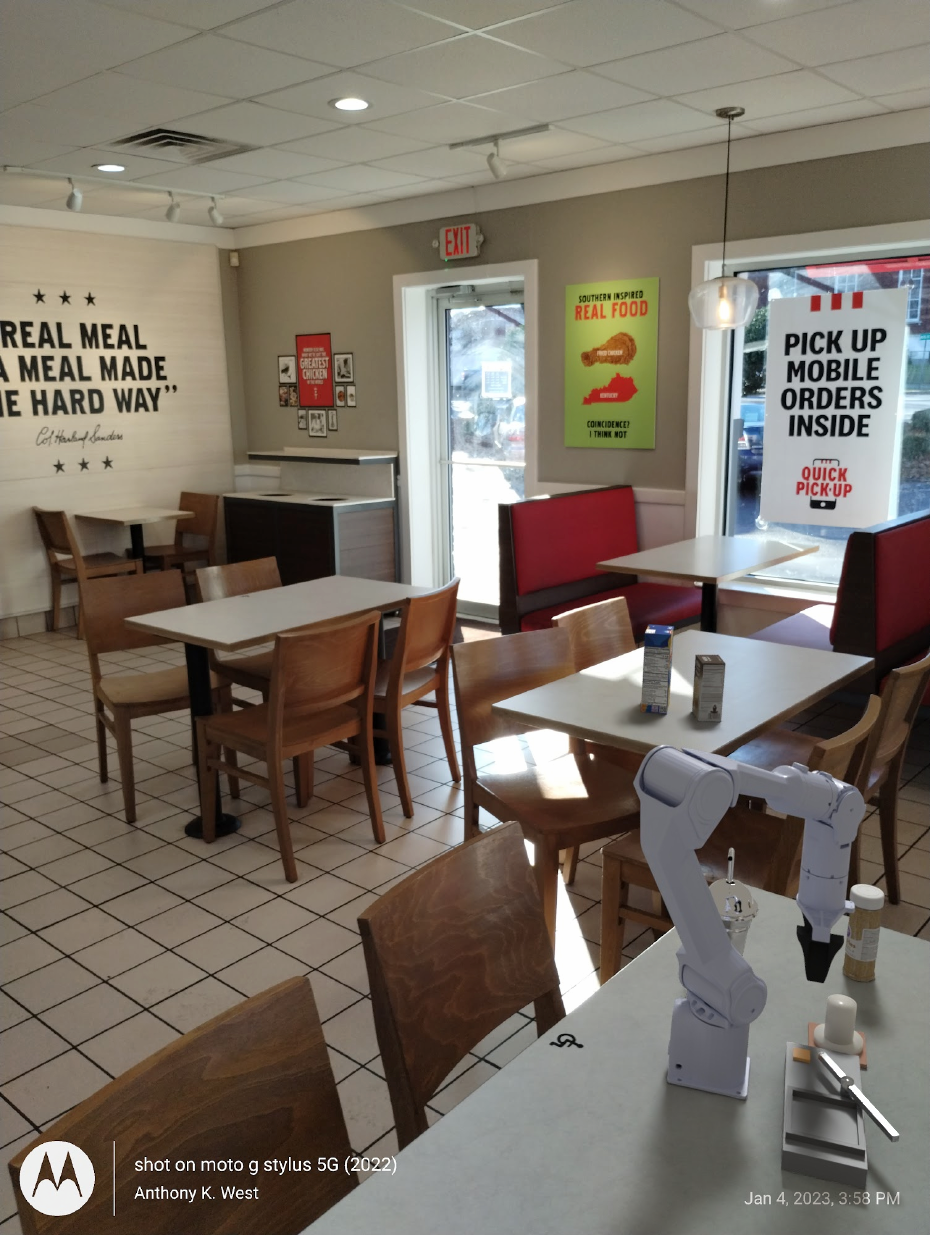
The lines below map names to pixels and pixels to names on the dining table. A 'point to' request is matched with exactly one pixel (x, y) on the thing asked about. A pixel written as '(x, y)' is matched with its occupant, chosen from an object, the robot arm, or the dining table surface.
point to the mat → (811, 1043)
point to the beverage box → (657, 669)
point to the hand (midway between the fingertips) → (815, 964)
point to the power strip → (822, 1118)
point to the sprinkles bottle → (863, 932)
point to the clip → (858, 1097)
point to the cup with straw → (734, 906)
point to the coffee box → (708, 687)
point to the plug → (839, 1027)
